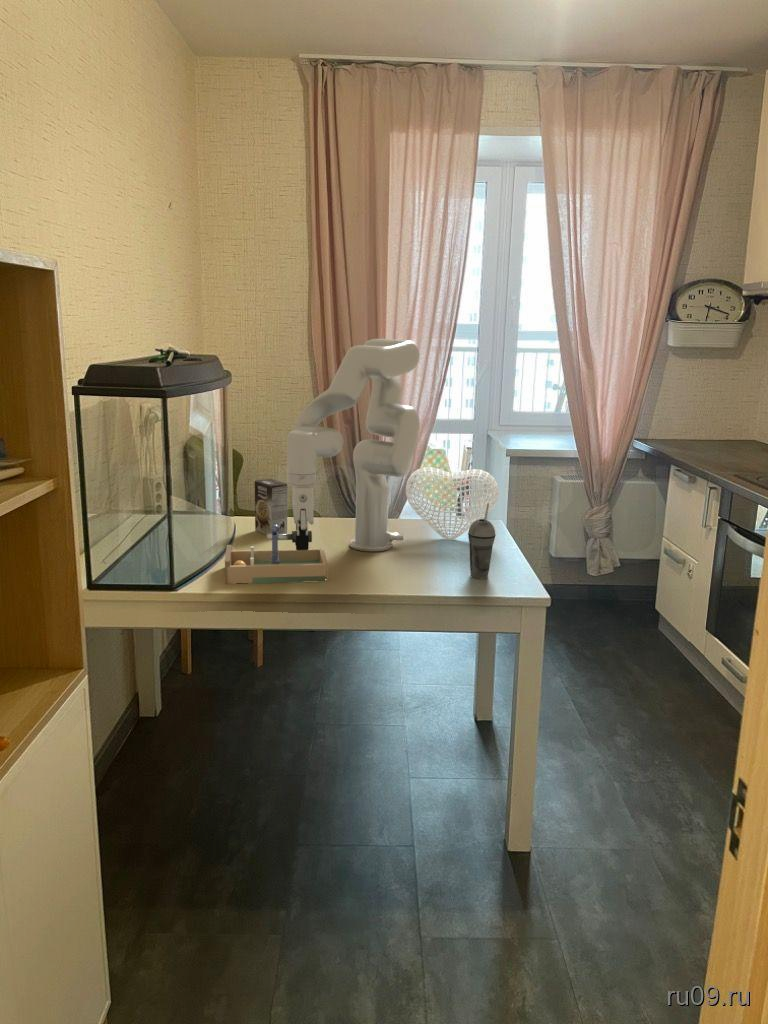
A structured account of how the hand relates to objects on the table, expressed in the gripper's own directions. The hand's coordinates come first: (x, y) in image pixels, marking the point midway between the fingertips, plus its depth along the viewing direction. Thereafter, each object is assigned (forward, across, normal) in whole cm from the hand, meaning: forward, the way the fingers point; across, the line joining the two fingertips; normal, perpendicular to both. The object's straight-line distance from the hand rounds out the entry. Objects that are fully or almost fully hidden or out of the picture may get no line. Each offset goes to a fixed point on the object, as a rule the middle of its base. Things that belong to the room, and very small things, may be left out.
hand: (301, 546), depth 206 cm
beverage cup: (+7, -6, -47) cm, 48 cm away
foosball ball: (+5, 0, +16) cm, 17 cm away
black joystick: (+5, 0, +3) cm, 6 cm away
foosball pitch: (+7, 0, +7) cm, 10 cm away
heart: (+7, +28, -47) cm, 55 cm away
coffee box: (+7, +39, +7) cm, 40 cm away
